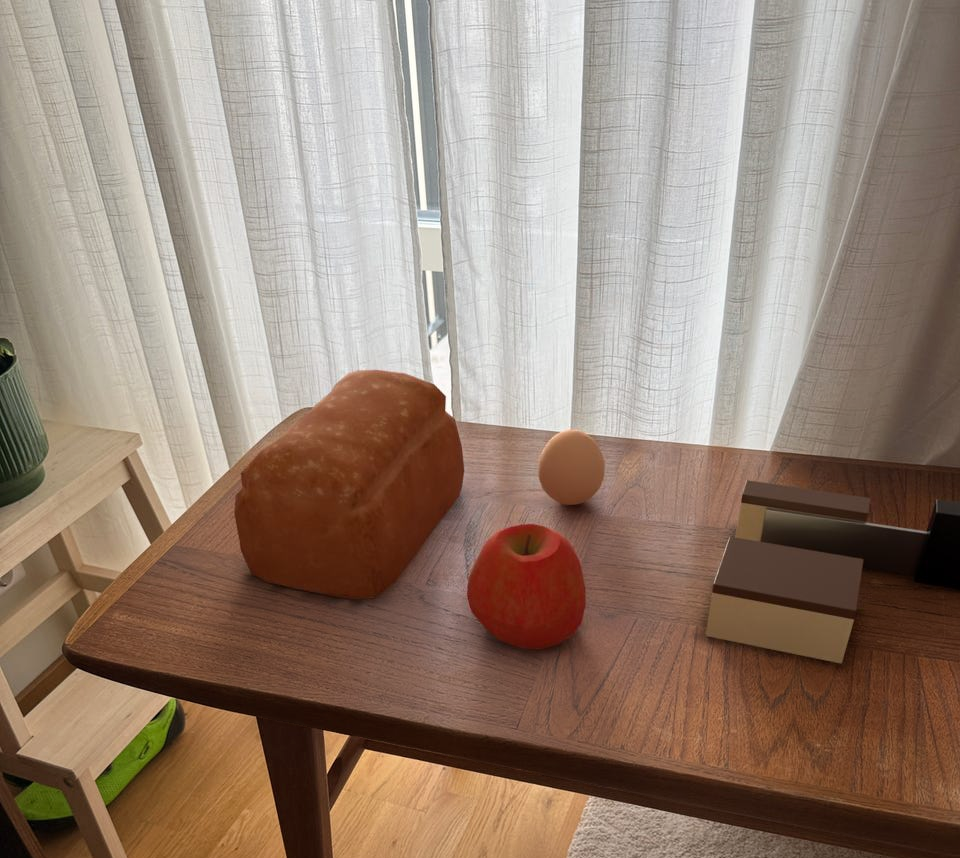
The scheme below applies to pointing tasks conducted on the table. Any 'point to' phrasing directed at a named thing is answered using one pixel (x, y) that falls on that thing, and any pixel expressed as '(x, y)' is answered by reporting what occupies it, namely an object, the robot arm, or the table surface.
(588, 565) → the table surface
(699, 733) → the table surface
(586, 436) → the egg
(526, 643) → the apple
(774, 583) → the cake
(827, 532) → the knife
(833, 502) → the cake slice
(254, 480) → the bread
